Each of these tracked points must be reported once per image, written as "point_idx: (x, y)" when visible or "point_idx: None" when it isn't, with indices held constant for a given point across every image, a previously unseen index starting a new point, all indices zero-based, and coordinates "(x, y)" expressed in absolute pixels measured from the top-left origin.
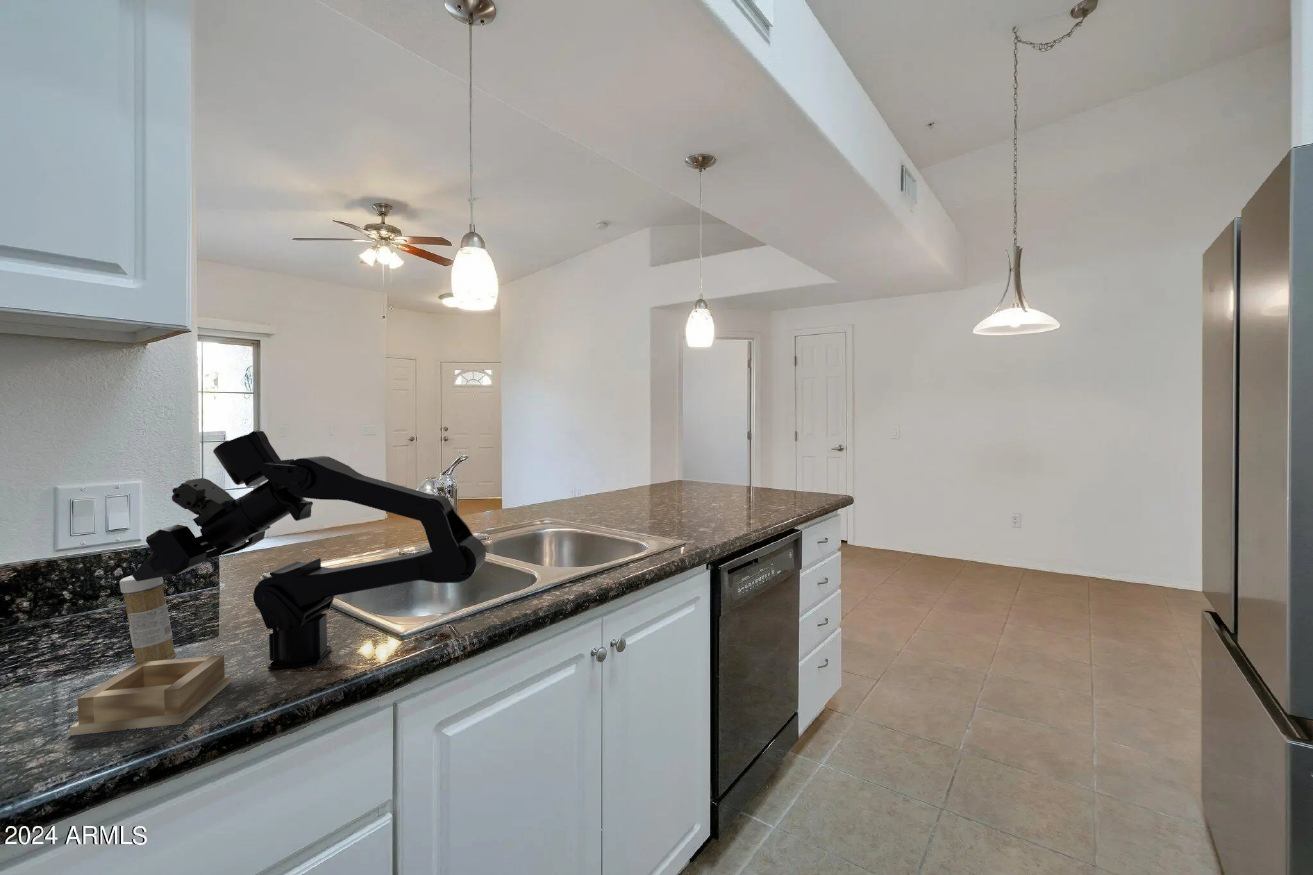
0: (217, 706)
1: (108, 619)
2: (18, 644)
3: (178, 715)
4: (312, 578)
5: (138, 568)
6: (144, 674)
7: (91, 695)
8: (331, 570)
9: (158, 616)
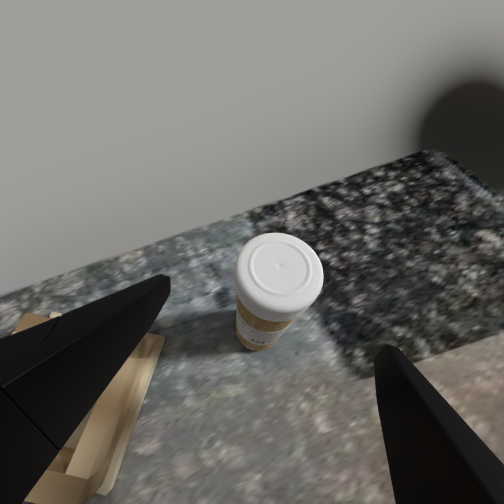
0: None
1: (448, 212)
2: (375, 170)
3: None
4: None
5: (124, 289)
6: None
7: (24, 326)
8: None
9: (246, 328)
